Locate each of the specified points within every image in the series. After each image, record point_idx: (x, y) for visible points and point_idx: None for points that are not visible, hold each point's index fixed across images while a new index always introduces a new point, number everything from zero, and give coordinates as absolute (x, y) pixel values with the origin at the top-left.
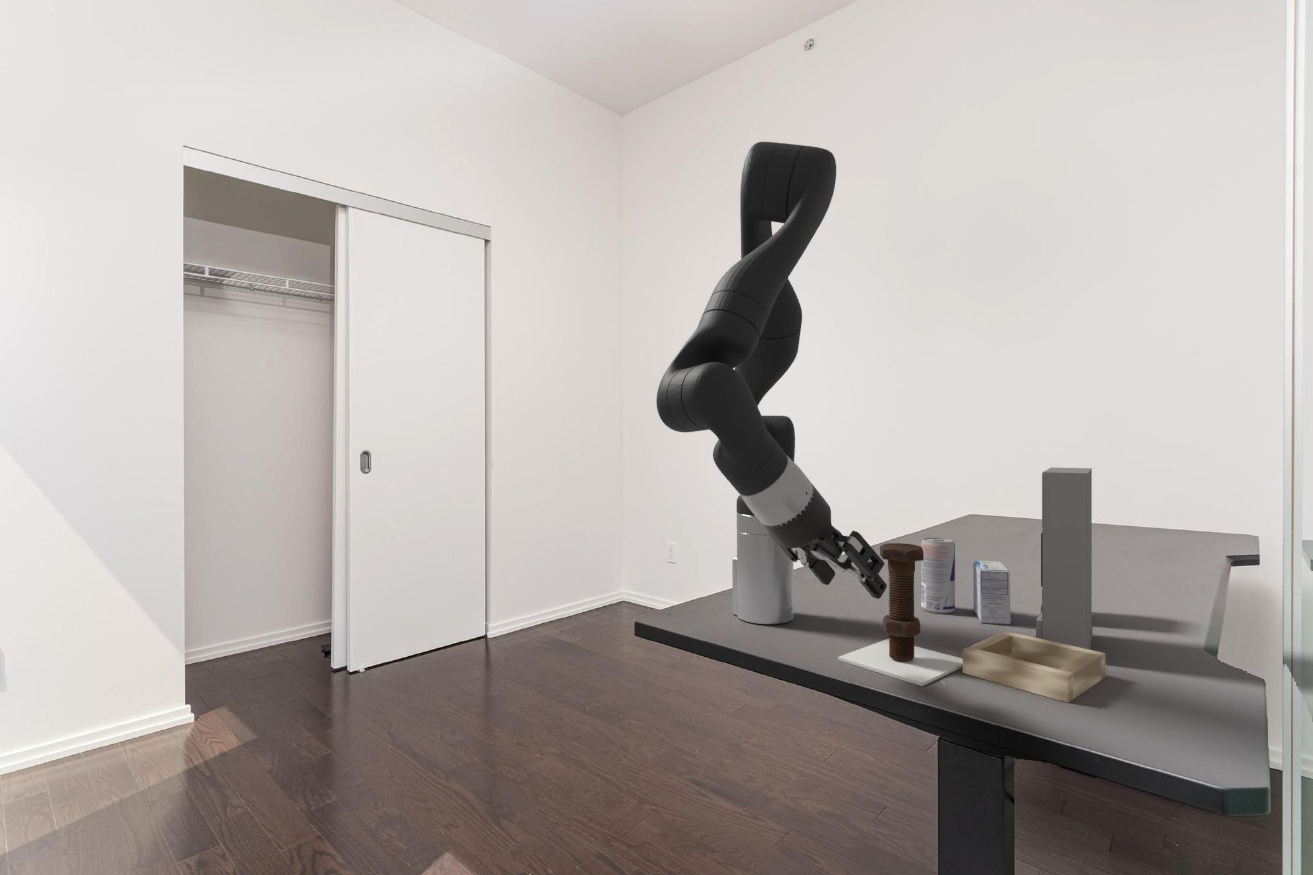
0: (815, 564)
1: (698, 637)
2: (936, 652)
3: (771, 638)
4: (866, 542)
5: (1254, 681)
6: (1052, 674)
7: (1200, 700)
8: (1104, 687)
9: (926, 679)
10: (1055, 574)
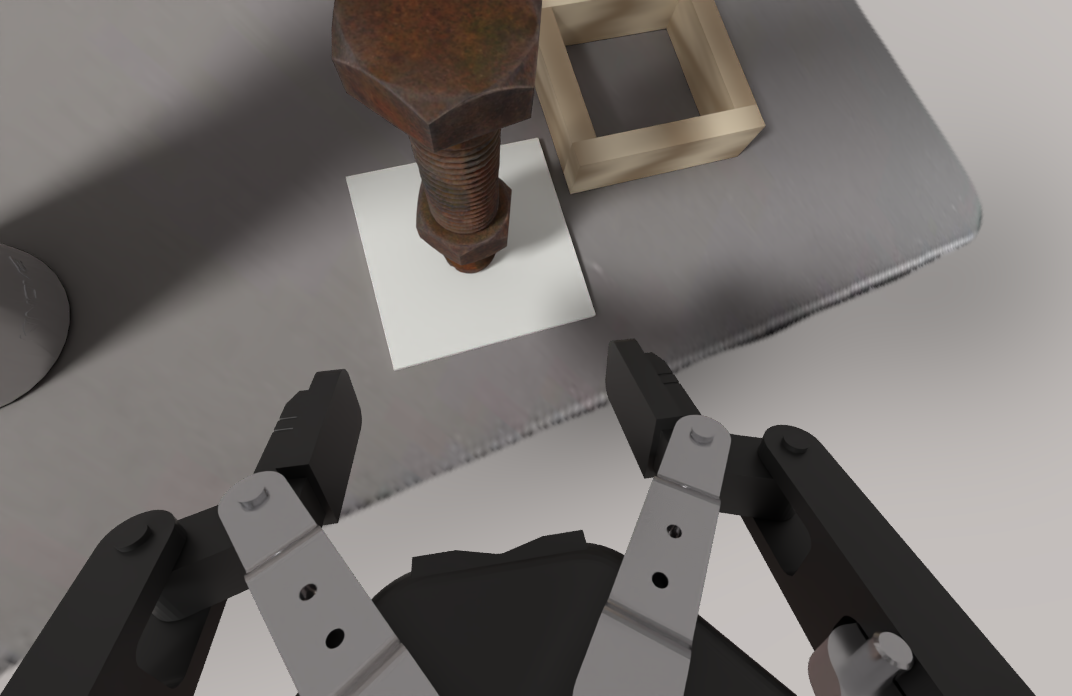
0: (331, 505)
1: (27, 635)
2: None
3: (166, 427)
4: (967, 620)
5: None
6: (738, 133)
7: None
8: None
9: (585, 294)
10: None
